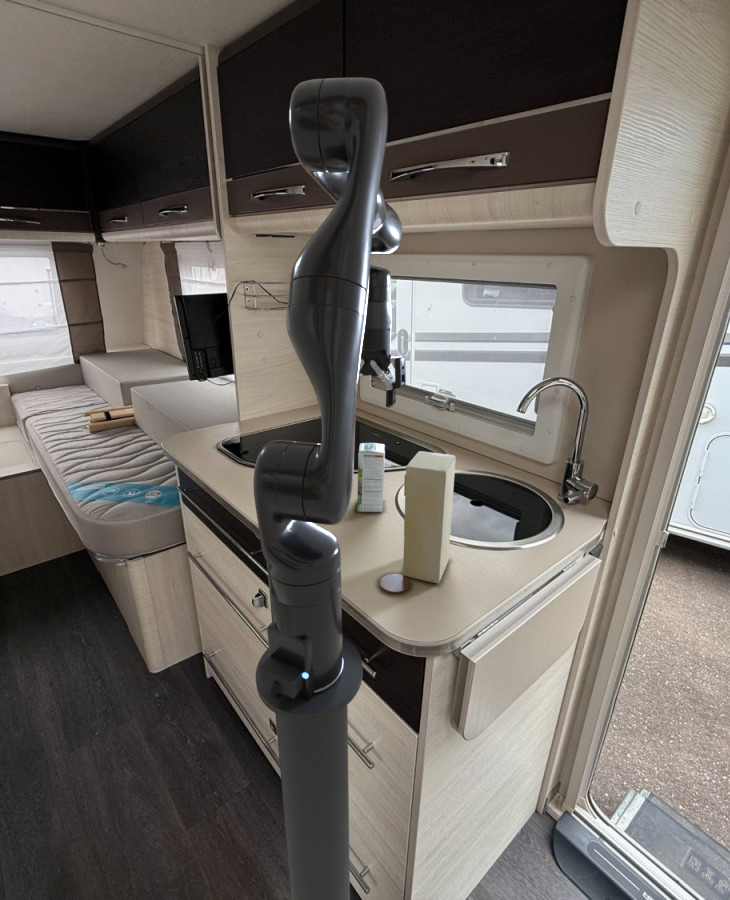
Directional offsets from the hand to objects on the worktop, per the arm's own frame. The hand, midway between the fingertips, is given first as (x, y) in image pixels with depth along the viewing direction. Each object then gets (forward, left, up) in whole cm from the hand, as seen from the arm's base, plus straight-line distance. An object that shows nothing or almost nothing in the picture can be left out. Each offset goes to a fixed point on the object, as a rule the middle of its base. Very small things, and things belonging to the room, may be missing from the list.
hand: (371, 404), depth 98 cm
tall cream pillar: (-16, -20, -24) cm, 35 cm away
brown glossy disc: (-23, -17, -24) cm, 37 cm away
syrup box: (0, 0, -24) cm, 24 cm away
